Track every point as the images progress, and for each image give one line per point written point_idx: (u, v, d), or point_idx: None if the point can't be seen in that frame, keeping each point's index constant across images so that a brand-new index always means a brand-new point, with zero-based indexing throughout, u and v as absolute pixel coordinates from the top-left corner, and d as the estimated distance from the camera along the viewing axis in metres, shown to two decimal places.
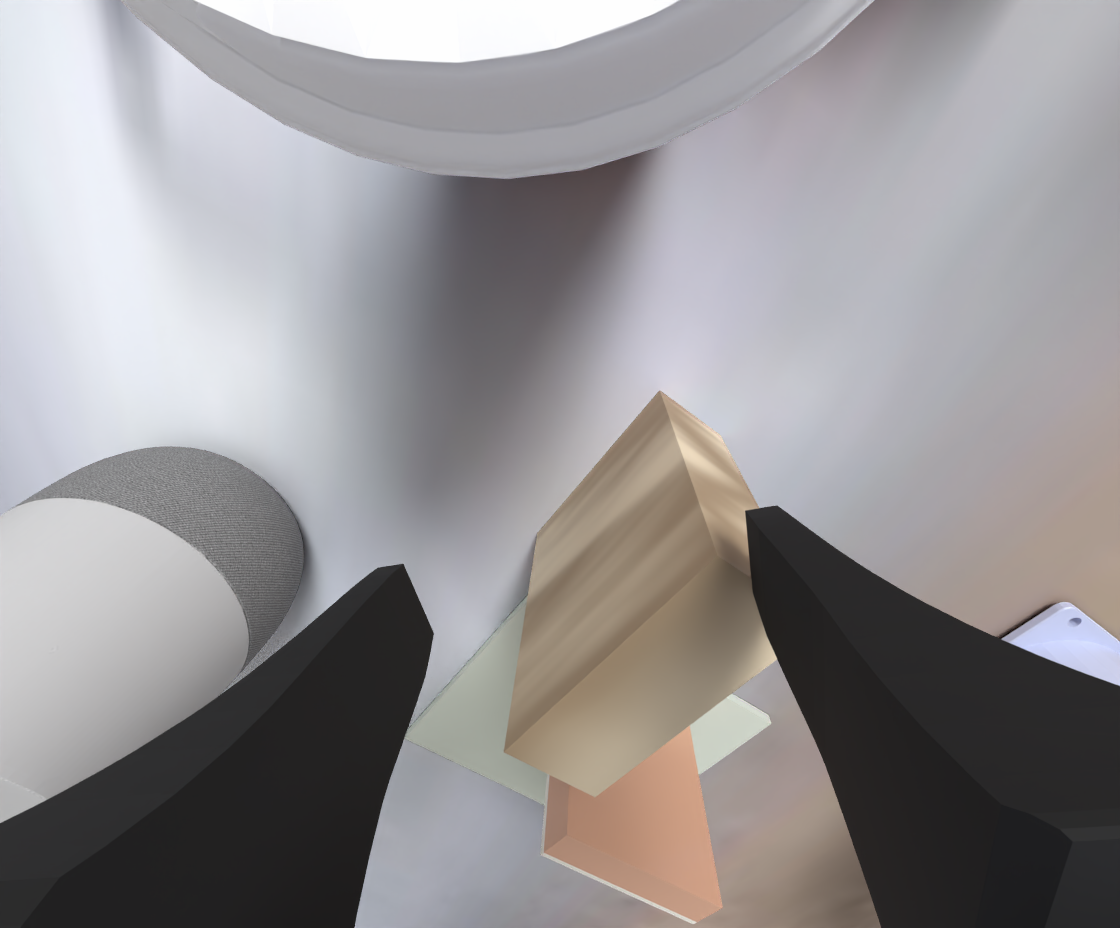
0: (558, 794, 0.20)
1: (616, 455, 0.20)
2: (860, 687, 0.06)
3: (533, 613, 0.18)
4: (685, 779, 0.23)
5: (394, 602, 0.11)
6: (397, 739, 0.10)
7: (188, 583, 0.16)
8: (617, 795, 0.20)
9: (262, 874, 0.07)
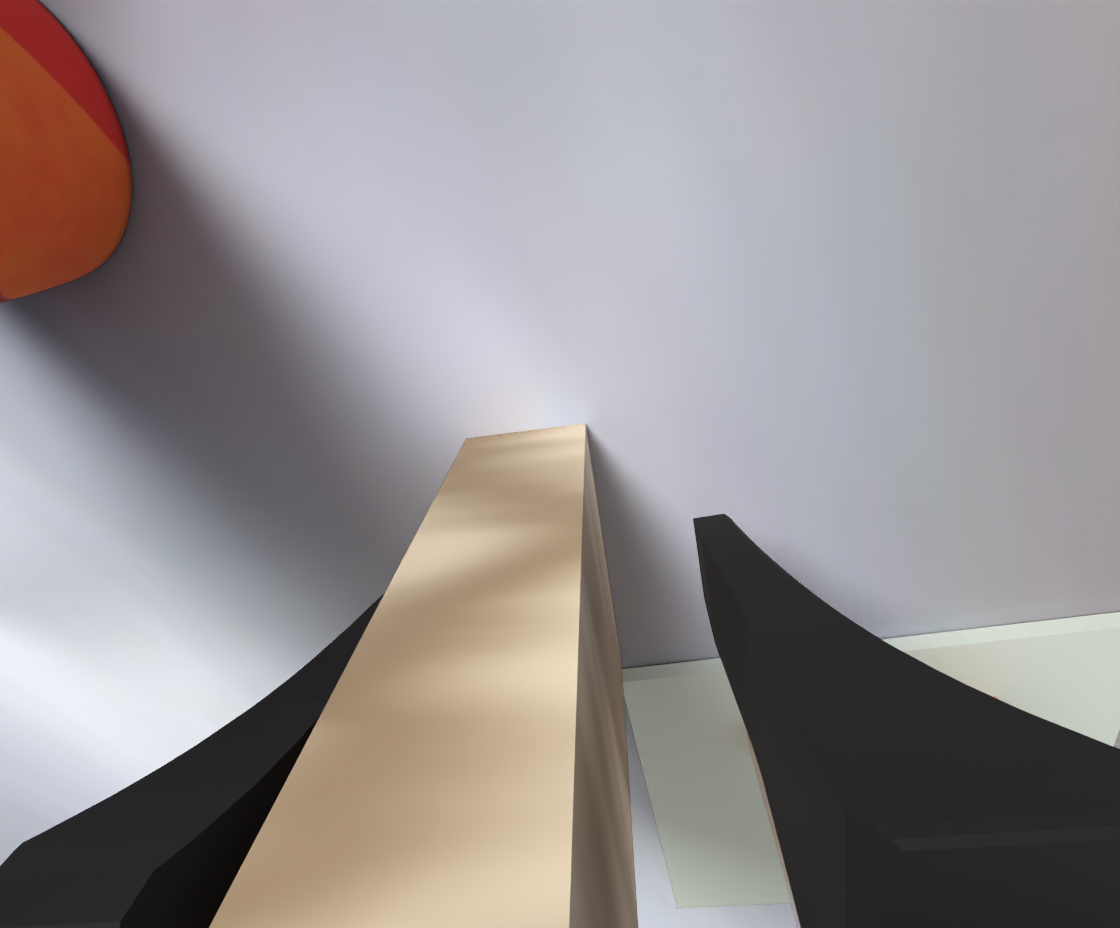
0: None
1: None
2: (770, 696, 0.06)
3: None
4: None
5: None
6: None
7: None
8: None
9: None
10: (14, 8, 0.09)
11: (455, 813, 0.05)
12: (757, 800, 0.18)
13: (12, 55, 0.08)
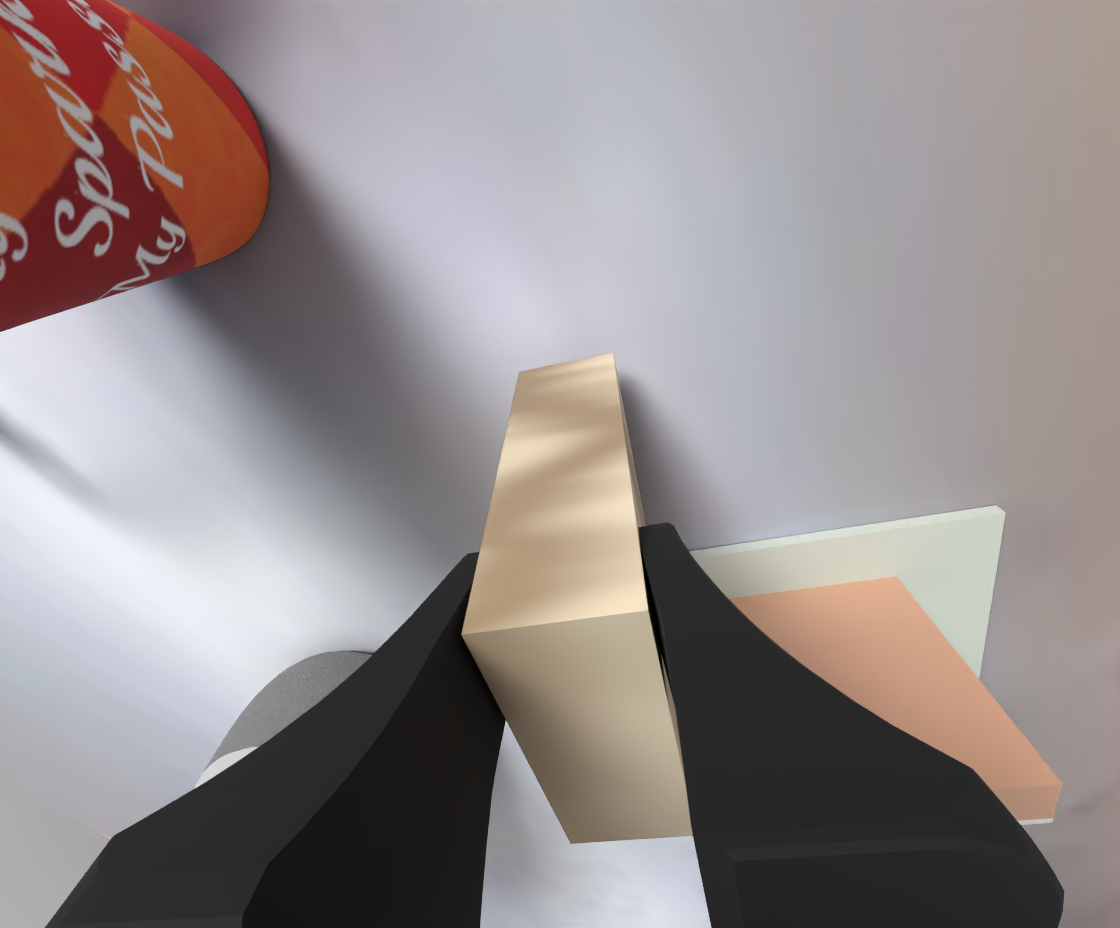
0: None
1: None
2: None
3: None
4: (923, 650, 0.17)
5: None
6: (499, 729, 0.10)
7: None
8: None
9: (413, 864, 0.06)
10: (213, 75, 0.14)
11: (578, 575, 0.09)
12: None
13: (218, 106, 0.13)
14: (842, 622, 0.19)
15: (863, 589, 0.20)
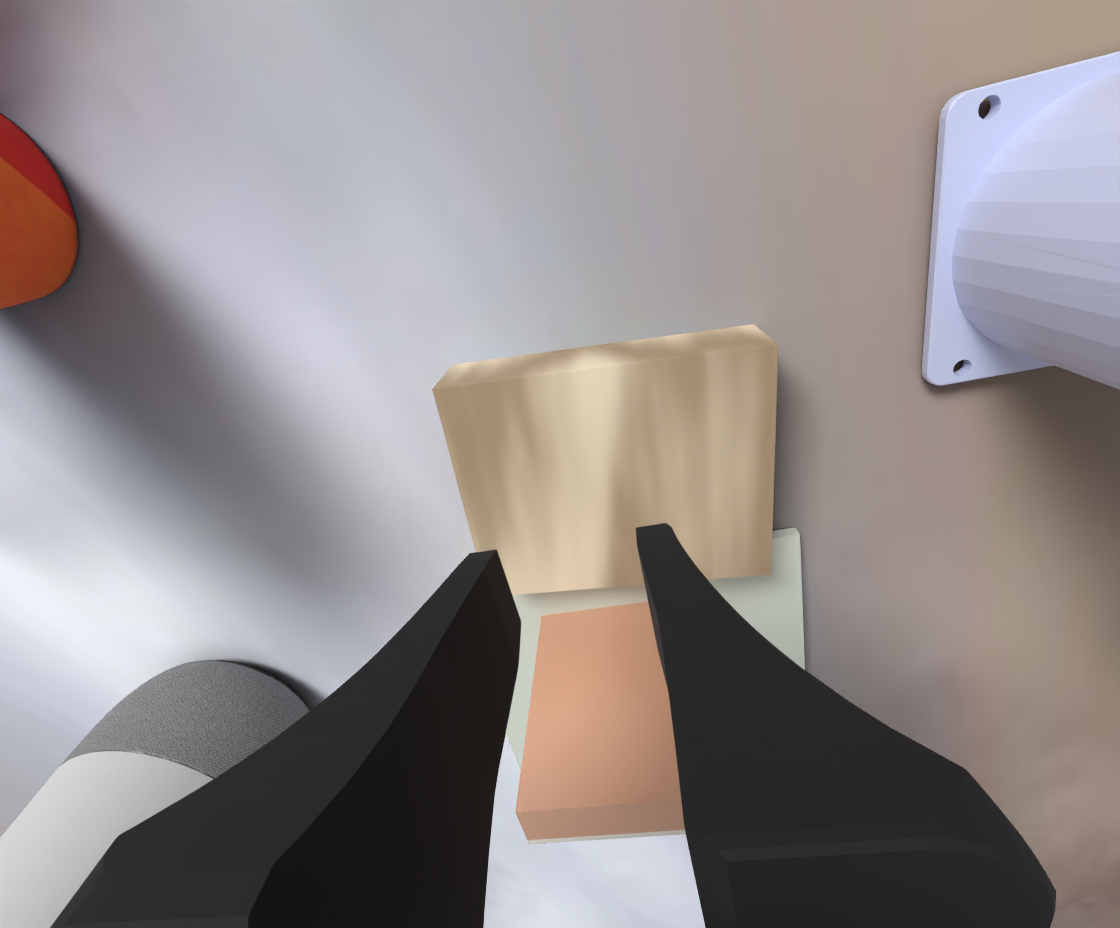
0: None
1: (489, 462, 0.17)
2: None
3: (634, 571, 0.18)
4: None
5: (493, 588, 0.10)
6: (502, 728, 0.10)
7: (127, 782, 0.19)
8: (593, 734, 0.17)
9: (417, 865, 0.06)
10: None
11: (728, 333, 0.17)
12: None
13: None
14: (646, 637, 0.20)
15: None
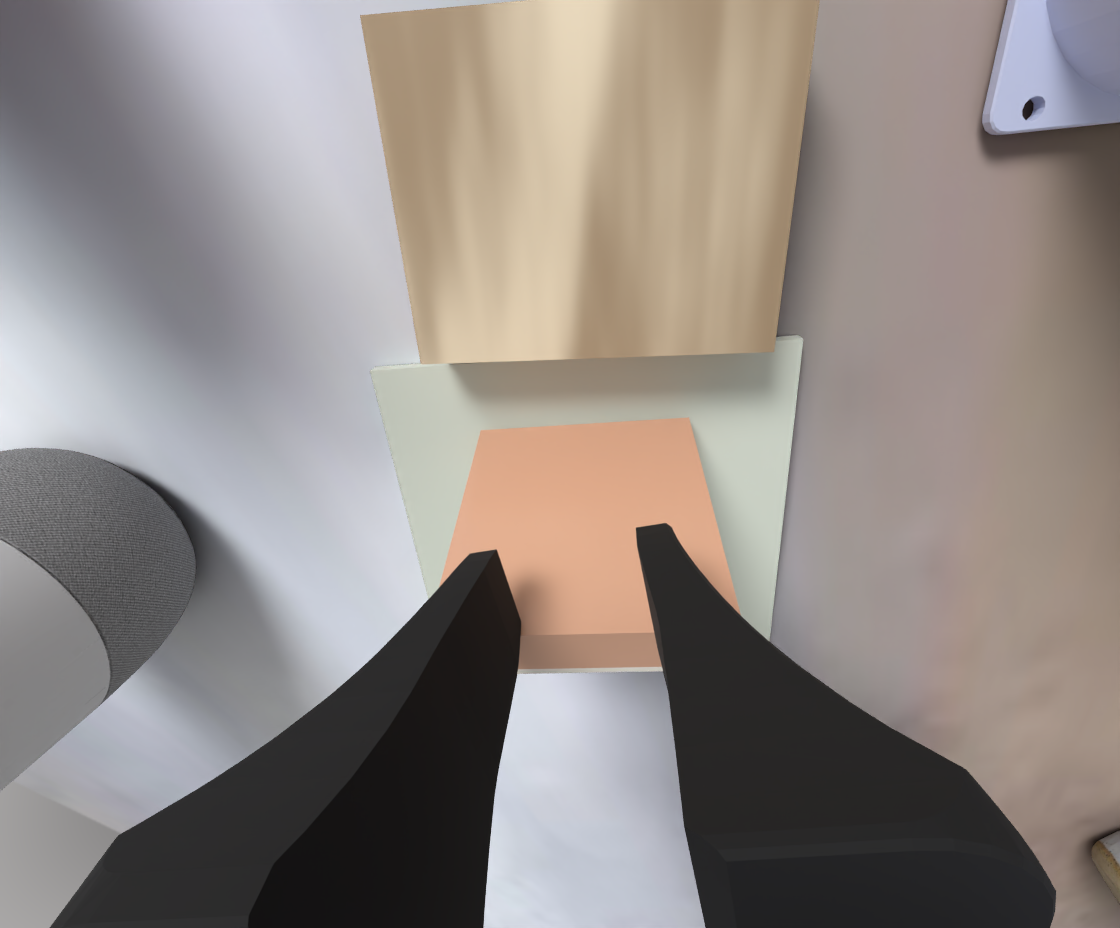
0: None
1: (432, 147, 0.13)
2: None
3: (606, 336, 0.15)
4: (676, 491, 0.15)
5: (493, 588, 0.10)
6: (502, 728, 0.10)
7: None
8: (532, 558, 0.13)
9: (417, 864, 0.06)
10: None
11: None
12: None
13: None
14: (607, 459, 0.16)
15: (647, 428, 0.17)
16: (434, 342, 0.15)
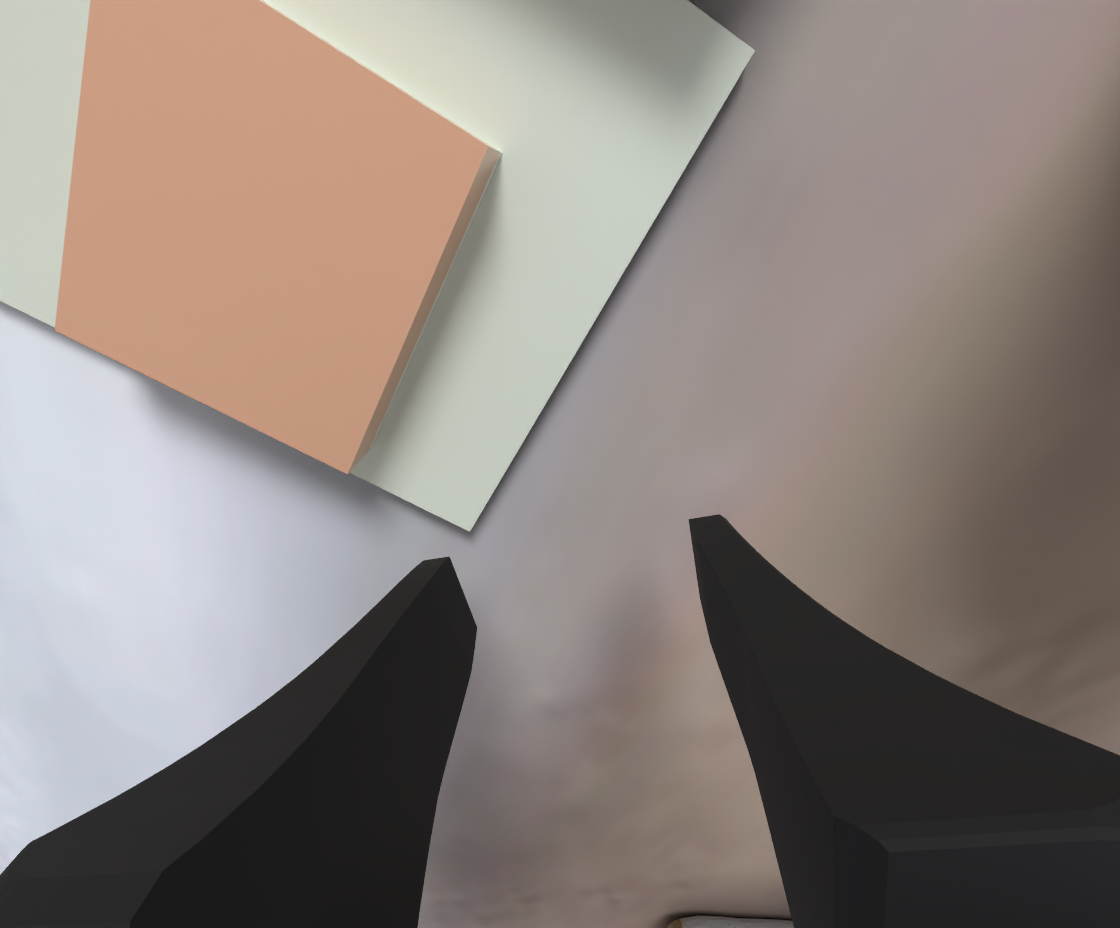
0: None
1: None
2: (762, 697, 0.06)
3: None
4: (377, 294, 0.11)
5: (443, 595, 0.11)
6: (448, 734, 0.10)
7: None
8: (173, 294, 0.11)
9: (338, 869, 0.07)
10: None
11: None
12: None
13: None
14: (316, 169, 0.10)
15: (410, 129, 0.10)
16: None
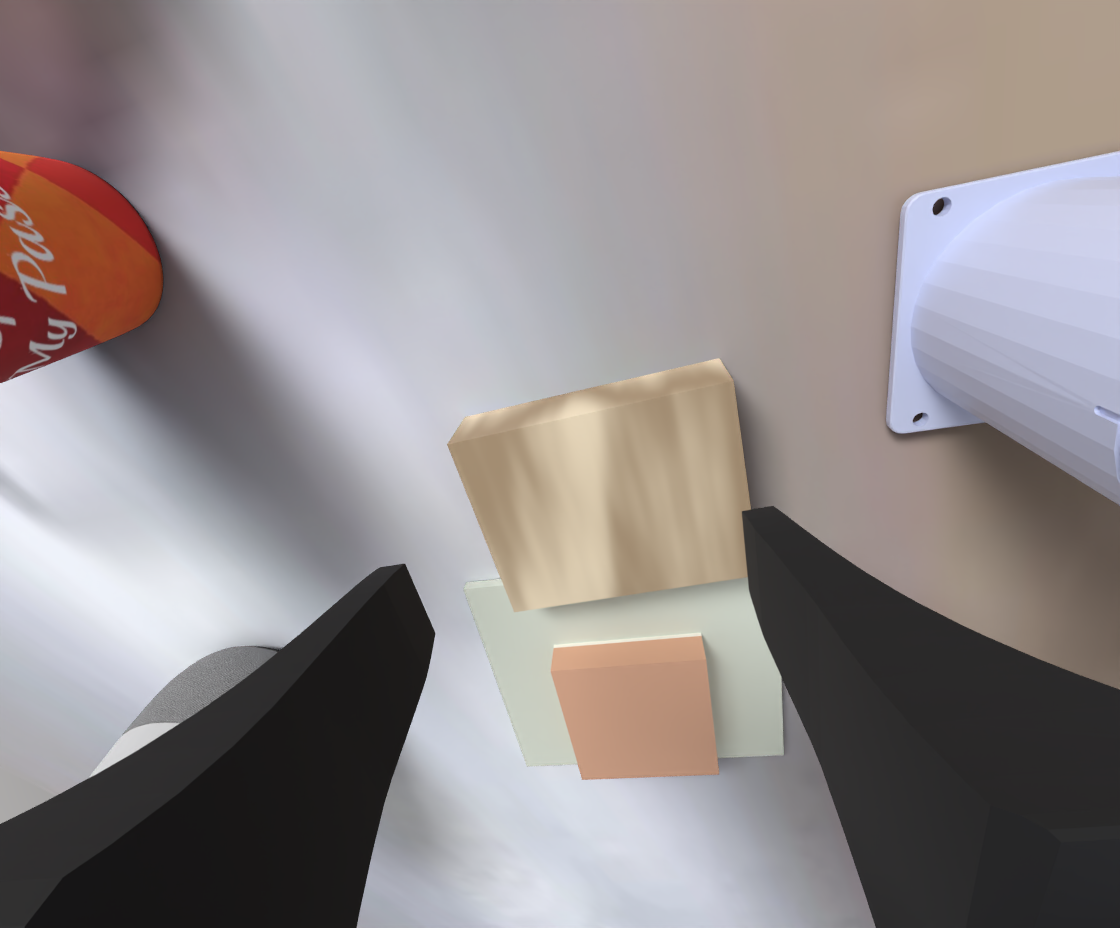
0: None
1: (502, 499, 0.20)
2: (854, 687, 0.06)
3: (637, 581, 0.21)
4: (693, 715, 0.25)
5: (396, 602, 0.11)
6: (399, 739, 0.10)
7: None
8: (618, 750, 0.27)
9: (265, 874, 0.07)
10: (101, 197, 0.18)
11: (696, 369, 0.19)
12: None
13: (102, 223, 0.17)
14: (649, 694, 0.25)
15: (675, 669, 0.24)
16: (521, 599, 0.22)
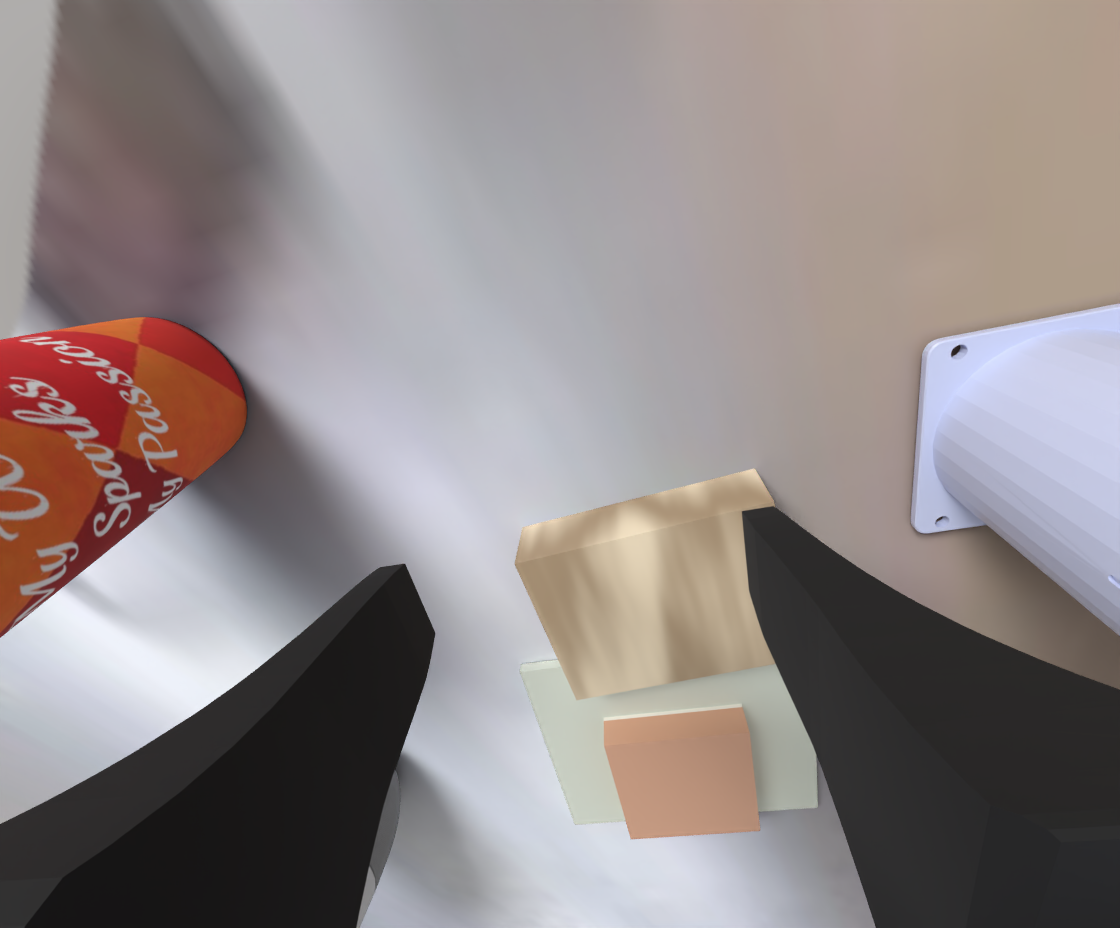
0: None
1: (564, 606, 0.22)
2: (854, 688, 0.06)
3: (690, 668, 0.23)
4: (736, 780, 0.27)
5: (396, 602, 0.11)
6: (399, 739, 0.10)
7: None
8: (666, 812, 0.28)
9: (265, 874, 0.07)
10: (198, 354, 0.19)
11: (735, 482, 0.21)
12: None
13: (201, 380, 0.19)
14: (696, 763, 0.26)
15: (720, 741, 0.26)
16: (583, 689, 0.24)
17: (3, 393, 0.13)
